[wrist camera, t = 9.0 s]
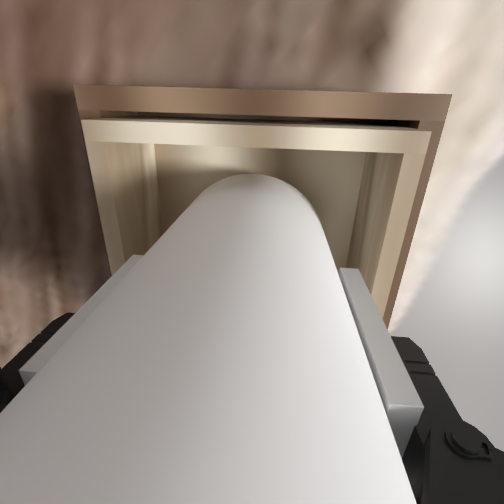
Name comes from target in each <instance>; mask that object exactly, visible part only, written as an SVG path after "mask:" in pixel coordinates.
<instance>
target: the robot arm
mask: <svg viewBox="0 0 504 504" xmlns="http://www.w3.org/2000/svg"><path fill="white" fill-rule="evenodd" d="M143 256H144V255H132V256H131V257H130V258H129V259H128V260H127V261H126V262H125V263H124V264H123V265H122V267H121V268H120V269H119V270H118V271H117V272H116V273H115V274H114V275H113V276H112V277H111V278H110V279H109V280H108V281H107V282H106V283H105V284H104V285H103V286H102V287H101V288H100V289H99V290H98V291H97V292H96V293H95V294H94V295H93V296H92V297H91V298H90V299H89V300H88V301H87V302H86V303H85V304H84V305H83V306H82V307H81V308H80V309H79V310H78V311H77V312H76V313H66V314H64V315H62V316H61V317H59V318H57V319H55V320H54V321H52V322H51V323H50V324H49V325H48V326H47V327H46V328H45V329H44V330H42V331H41V334H38V335H37V336H36V337H35V338H34V339H33V340H32V342H31V343H29V344H28V345H27V346H26V347H24V348H23V349H22V350H21V351H20V352H19V353H18V354H17V355H16V356H15V357H14V358H13V359H12V360H11V361H10V362H9V363H8V364H6V365H5V366H4V367H3V368H2V369H1V367H0V413H1V412H2V411H3V410H4V409H5V407H6V406H7V405H8V404H9V403H10V402H11V401H12V400H13V399H14V398H15V396H16V395H17V394H18V393H19V392H20V391H21V390H22V389H23V388H24V387H25V385H26V384H27V383H28V382H29V381H30V380H31V379H32V378H33V377H34V376H35V374H36V373H37V372H38V371H39V370H40V369H41V368H42V367H43V366H44V365H45V364H46V362H47V361H48V360H49V359H50V358H51V357H52V356H53V355H54V354H55V353H56V351H57V350H58V349H59V348H60V347H61V346H62V345H63V344H64V343H65V342H66V340H67V339H68V338H69V337H70V336H71V335H72V334H73V333H74V332H75V331H76V330H77V328H78V327H79V326H80V325H81V324H82V323H83V322H84V321H85V320H86V319H87V317H88V316H89V315H90V314H91V313H92V312H93V311H94V310H95V309H96V308H97V306H98V305H99V304H100V303H101V302H102V301H103V300H104V299H105V298H106V297H107V295H108V294H109V293H110V292H111V291H112V290H113V289H114V288H115V287H116V286H117V285H118V283H119V282H120V281H121V280H122V279H123V278H124V277H125V276H126V275H127V274H128V272H129V271H130V270H131V269H132V268H133V267H134V266H135V265H136V264H137V263H138V261H139V260H140V259H141V258H142V257H143ZM339 278H340V280H341V283H342V286H343V289H344V292H345V295H346V298H347V301H348V304H349V307H350V310H351V313H352V316H353V319H354V321H355V324H356V327H357V330H358V333H359V336H360V339H361V342H362V345H363V348H364V351H365V354H366V357H367V360H368V362H369V365H370V368H371V371H372V374H373V377H374V380H375V383H376V386H377V389H378V392H379V395H380V398H381V400H382V403H383V406H384V409H385V412H386V415H387V418H388V421H389V424H390V427H391V430H392V433H393V436H394V439H395V441H396V444H397V447H398V450H399V453H400V456H401V459H402V462H403V465H404V468H405V471H406V474H407V477H408V480H409V482H410V485H411V488H412V491H413V494H414V497H415V500H416V503H417V504H504V452H503V451H501V450H499V449H496V448H495V447H494V446H493V445H492V443H491V442H490V441H489V440H488V438H487V437H486V436H485V435H484V434H483V433H481V432H480V431H479V430H478V429H477V428H475V427H474V426H472V425H470V424H468V423H467V422H465V421H463V420H462V418H461V417H460V415H459V413H458V412H457V410H456V408H455V407H454V405H453V403H452V401H451V399H450V398H449V396H448V394H447V393H446V391H445V389H444V388H443V386H442V384H441V382H440V380H439V379H438V377H437V376H435V372H434V370H433V368H432V367H431V365H429V361H428V360H427V358H426V356H425V355H424V353H423V351H422V349H421V348H420V347H419V346H417V345H416V344H415V343H414V342H413V341H412V340H411V339H410V338H406V337H394V336H390V334H389V332H388V330H387V328H386V326H385V324H384V322H383V320H382V317H381V315H380V313H379V311H378V309H377V307H376V305H375V303H374V301H373V298H372V296H371V294H370V292H369V290H368V288H367V286H366V284H365V282H364V280H363V277H362V275H361V273H360V271H359V269H354V268H340V271H339Z"/></svg>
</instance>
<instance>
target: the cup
mask: <svg viewBox="0 0 504 504" xmlns="http://www.w3.org/2000/svg"><path fill="white" fill-rule="evenodd" d="M0 504H417V503H416V500H415V497H414V494H413V491H412V488H411V485H410V482H409V480H408V477H407V474H406V471H405V468H404V465H403V462H402V459H401V456H400V453H399V450H398V447H397V444H396V441H395V439H394V436H393V433H392V430H391V427H390V424H389V421H388V418H387V415H386V412H385V409H384V406H383V403H382V400H381V398H380V395H379V392H378V389H377V386H376V383H375V380H374V377H373V374H372V371H371V368H370V365H369V362H368V360H367V357H366V354H365V351H364V348H363V345H362V342H361V339H360V336H359V333H358V330H357V327H356V324H355V321H354V319H353V316H352V313H351V310H350V307H349V304H348V301H347V298H346V295H345V292H344V289H343V286H342V283H341V280H340V278H339V275H338V272H337V269H336V266H335V263H334V260H333V257H332V254H331V251H330V248H329V245H328V242H327V240H326V237H325V234H324V231H323V228H322V225H321V222H320V219H319V217H318V215H317V213H316V211H315V209H314V207H313V206H312V204H311V203H310V202H309V201H308V199H307V198H306V197H305V196H304V195H303V194H302V193H301V192H300V191H298V190H297V189H296V188H294V187H293V186H291V185H290V184H288V183H286V182H284V181H282V180H280V179H277V178H275V177H271V176H267V175H262V174H239V175H234V176H230V177H227V178H224V179H222V180H219V181H217V182H215V183H214V184H212V185H210V186H209V187H208V188H206V189H205V190H204V191H203V192H202V193H201V194H200V195H199V196H198V197H197V198H196V199H195V200H194V201H193V202H192V203H191V204H190V206H189V207H188V208H187V209H186V210H185V211H184V212H183V213H182V214H181V215H180V216H179V218H178V219H177V220H176V221H175V222H174V223H173V224H172V225H171V226H170V227H169V229H168V230H167V231H166V232H165V233H164V234H163V235H162V236H161V237H160V238H159V240H158V241H157V242H156V243H155V244H154V245H153V246H152V247H151V248H150V249H149V251H148V252H147V253H146V254H145V255H144V256H143V257H142V258H141V259H140V260H139V261H138V263H137V264H136V265H135V266H134V267H133V268H132V269H131V270H130V271H129V272H128V274H127V275H126V276H125V277H124V278H123V279H122V280H121V281H120V282H119V283H118V285H117V286H116V287H115V288H114V289H113V290H112V291H111V292H110V293H109V294H108V295H107V297H106V298H105V299H104V300H103V301H102V302H101V303H100V304H99V305H98V306H97V308H96V309H95V310H94V311H93V312H92V313H91V314H90V315H89V316H88V317H87V319H86V320H85V321H84V322H83V323H82V324H81V325H80V326H79V327H78V328H77V330H76V331H75V332H74V333H73V334H72V335H71V336H70V337H69V338H68V339H67V340H66V342H65V343H64V344H63V345H62V346H61V347H60V348H59V349H58V350H57V351H56V353H55V354H54V355H53V356H52V357H51V358H50V359H49V360H48V361H47V362H46V364H45V365H44V366H43V367H42V368H41V369H40V370H39V371H38V372H37V373H36V374H35V376H34V377H33V378H32V379H31V380H30V381H29V382H28V383H27V384H26V385H25V387H24V388H23V389H22V390H21V391H20V392H19V393H18V394H17V395H16V396H15V398H14V399H13V400H12V401H11V402H10V403H9V404H8V405H7V406H6V407H5V409H4V410H3V411H2V412H1V413H0Z"/></svg>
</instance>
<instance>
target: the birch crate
mask: <svg viewBox="0 0 504 504" xmlns="http://www.w3.org/2000/svg"><path fill="white" fill-rule="evenodd" d="M81 123H82V128H83V133H84V138H85V143H86V148H87V153H88V158H89V163H90V169H91V174H92V179H93V184H94V189H95V194H96V199H97V204H98V209H99V214H100V219H101V224H102V229H103V234H104V239H105V244H106V249H107V254H108V259H109V264H110V269H111V274H112V276H113V275H114V274H115V273H116V272H117V271H118V270H119V269H120V268H121V267H122V265H123V264H124V263H125V262H126V261H127V260H128V259H129V258H130V257H131V256H132V255H145V254H146V253H147V252H148V251H149V249H150V248H151V247H152V246H153V245H154V244H155V243H156V242H157V241H158V240H159V238H160V237H161V236H162V235H163V234H164V233H165V232H166V231H167V230H168V229H169V227H170V226H171V225H172V224H173V223H174V222H175V221H176V220H177V219H178V218H179V216H180V215H181V214H182V213H183V212H184V211H185V210H186V209H187V208H188V207H189V206H190V204H191V203H192V202H193V201H194V200H195V199H196V198H197V197H198V196H199V195H200V194H201V193H202V192H203V191H204V190H205V189H206V188H208V187H209V186H210V185H212V184H214V183H215V182H217V181H219V180H222V179H224V178H227V177H230V176H234V175H239V174H262V175H267V176H271V177H275V178H277V179H280V180H282V181H284V182H286V183H288V184H290V185H291V186H293V187H294V188H296V189H297V190H298V191H300V192H301V193H302V194H303V195H304V196H305V197H306V198H307V199H308V201H309V202H310V203H311V204H312V206H313V207H314V209H315V211H316V213H317V215H318V217H319V219H320V222H321V225H322V228H323V231H324V234H325V237H326V240H327V242H328V245H329V248H330V251H331V254H332V257H333V260H334V263H335V266H336V269H337V272H338V275H339V271H340V268H354V269H359V271H360V273H361V275H362V277H363V280H364V282H365V284H366V286H367V288H368V290H369V292H370V294H371V296H372V298H373V301H374V303H375V305H376V307H377V309H378V311H379V313H380V315H381V317H382V320H383V316H384V312H385V308H386V304H387V301H388V297H389V293H390V289H391V285H392V281H393V278H394V274H395V270H396V266H397V262H398V259H399V255H400V251H401V247H402V243H403V240H404V236H405V232H406V228H407V224H408V220H409V217H410V213H411V209H412V205H413V201H414V198H415V194H416V190H417V186H418V182H419V179H420V175H421V171H422V167H423V163H424V159H425V156H426V152H427V148H428V144H429V140H430V137H431V133H432V131H426V130H420V129H414V128H408V127H402V126H396V125H391V124H385V123H361V122H330V121H300V120H269V119H238V118H207V117H176V116H145V115H142V116H127V117H112V118H97V119H83V120H81Z"/></svg>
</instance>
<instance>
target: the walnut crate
mask: <svg viewBox="0 0 504 504" xmlns="http://www.w3.org/2000/svg"><path fill="white" fill-rule="evenodd" d="M73 88H74V93H75V98H76V103H77V108H78V113H79V118H80V123H81V120H83V119H97V118H112V117H127V116H142V115H145V116H176V117H207V118H238V119H269V120H300V121H330V122H361V123H385V124H391V125H396V126H402V127H408V128H414V129H420V130H426V131H432V133H431V137H430V140H429V144H428V148H427V152H426V156H425V159H424V163H423V167H422V171H421V175H420V179H419V182H418V186H417V190H416V194H415V198H414V201H413V205H412V209H411V213H410V217H409V220H408V224H407V228H406V232H405V236H404V240H403V243H402V247H401V251H400V255H399V259H398V262H397V266H396V270H395V274H394V278H393V281H392V285H391V289H390V293H389V297H388V301H387V304H386V308H385V312H384V316H383V322H384V324H385V326H386V328H387V329H388V326H389V322H390V318H391V315H392V311H393V308H394V304H395V300H396V297H397V293H398V289H399V286H400V282H401V279H402V275H403V271H404V268H405V264H406V260H407V257H408V253H409V250H410V246H411V242H412V239H413V235H414V231H415V228H416V224H417V221H418V217H419V213H420V210H421V206H422V202H423V199H424V195H425V192H426V188H427V184H428V181H429V177H430V173H431V170H432V166H433V163H434V159H435V155H436V152H437V148H438V144H439V141H440V137H441V134H442V130H443V126H444V123H445V119H446V115H447V112H448V108H449V105H450V101H451V97H452V94H418V93H380V92H341V91H303V90H264V89H225V88H187V87H148V86H109V85H73ZM81 128H82V123H81ZM82 133H83V128H82ZM83 138H84V133H83ZM84 143H85V138H84ZM85 148H86V143H85ZM86 153H87V148H86ZM87 158H88V153H87ZM88 163H89V158H88ZM89 168H90V163H89ZM90 173H91V169H90ZM91 178H92V174H91ZM92 183H93V179H92ZM93 188H94V184H93ZM94 193H95V189H94ZM95 198H96V194H95ZM96 203H97V199H96ZM97 208H98V204H97ZM98 213H99V209H98ZM99 218H100V214H99ZM100 223H101V219H100ZM101 228H102V224H101ZM102 233H103V229H102ZM103 238H104V234H103ZM104 243H105V239H104ZM105 248H106V244H105ZM106 253H107V249H106ZM107 258H108V254H107ZM108 263H109V259H108ZM109 268H110V264H109ZM110 273H111V269H110ZM111 277H112V274H111Z"/></svg>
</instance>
